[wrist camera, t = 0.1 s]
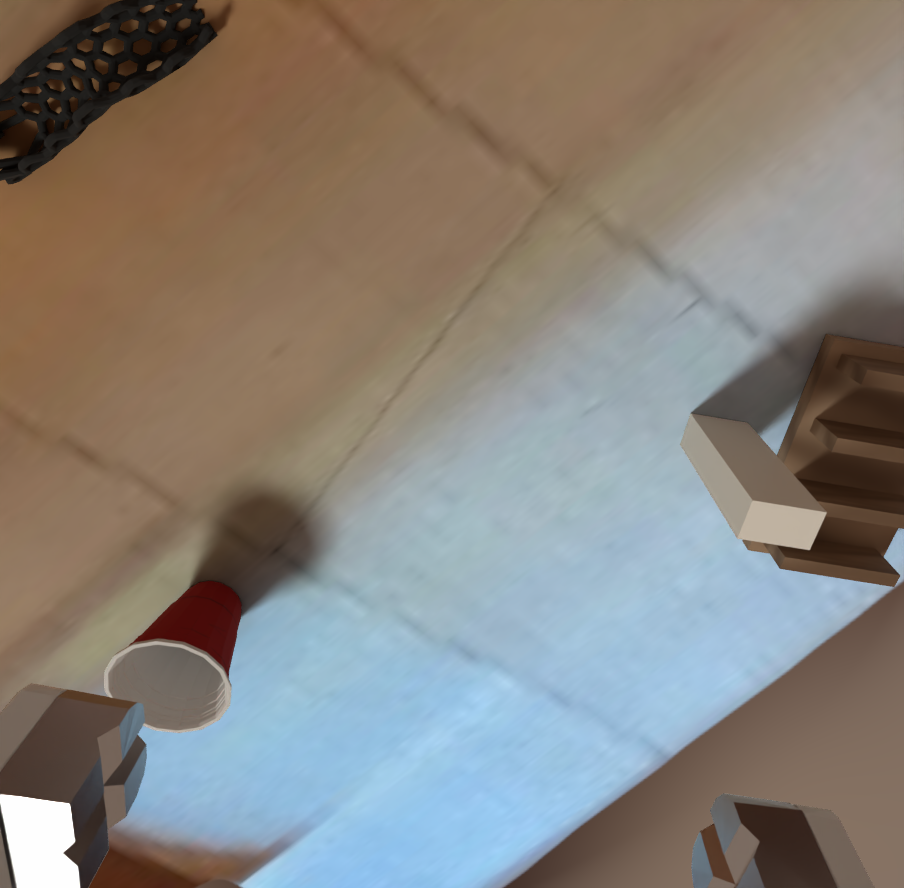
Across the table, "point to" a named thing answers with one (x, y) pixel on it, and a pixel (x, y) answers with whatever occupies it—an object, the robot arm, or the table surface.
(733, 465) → the clay strip
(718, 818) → the robot arm
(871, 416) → the drying rack
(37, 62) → the decorative element
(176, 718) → the plastic cup
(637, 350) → the table surface
